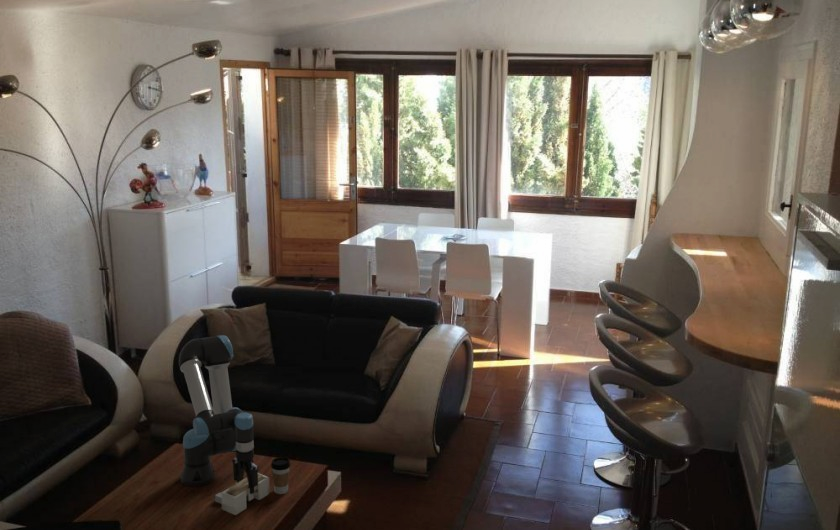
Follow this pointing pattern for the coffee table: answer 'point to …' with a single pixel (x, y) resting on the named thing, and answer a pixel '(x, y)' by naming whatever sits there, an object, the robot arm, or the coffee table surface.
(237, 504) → the bracket pair
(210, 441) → the robot arm
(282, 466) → the coffee cup
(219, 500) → the rest blocks
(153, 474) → the coffee table surface
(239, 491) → the rail
